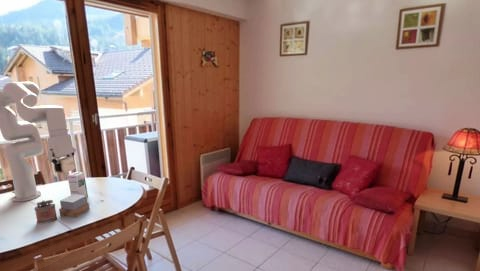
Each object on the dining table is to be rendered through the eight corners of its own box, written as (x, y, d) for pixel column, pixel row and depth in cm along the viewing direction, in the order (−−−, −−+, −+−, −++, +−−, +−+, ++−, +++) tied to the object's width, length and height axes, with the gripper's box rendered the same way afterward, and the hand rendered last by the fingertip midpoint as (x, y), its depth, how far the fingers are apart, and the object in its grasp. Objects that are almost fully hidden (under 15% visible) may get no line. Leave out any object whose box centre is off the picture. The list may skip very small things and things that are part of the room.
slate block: (61, 208, 136) (59, 200, 135) (75, 201, 144) (74, 193, 143) (74, 210, 134) (72, 202, 133) (87, 202, 141) (86, 195, 140)
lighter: (36, 224, 129) (32, 204, 126) (38, 221, 132) (34, 201, 130) (56, 220, 132) (53, 200, 130) (58, 217, 135) (54, 197, 133)
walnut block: (60, 216, 136) (59, 208, 135) (75, 208, 145) (74, 200, 144) (75, 218, 134) (74, 210, 133) (89, 209, 142) (88, 202, 142)
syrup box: (80, 200, 152) (76, 175, 149) (71, 200, 153) (67, 175, 150) (88, 196, 158) (84, 171, 154) (79, 195, 159) (75, 171, 156)
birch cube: (54, 172, 134) (52, 160, 133) (65, 168, 140) (63, 156, 138) (64, 173, 132) (62, 160, 131) (75, 168, 138) (73, 157, 137)
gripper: (67, 129, 141) (73, 163, 145) (34, 136, 125) (42, 174, 129) (79, 129, 139) (85, 164, 143) (48, 136, 123) (55, 175, 127)
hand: (64, 168), depth 136 cm, fingers closed on birch cube, 6 cm apart
